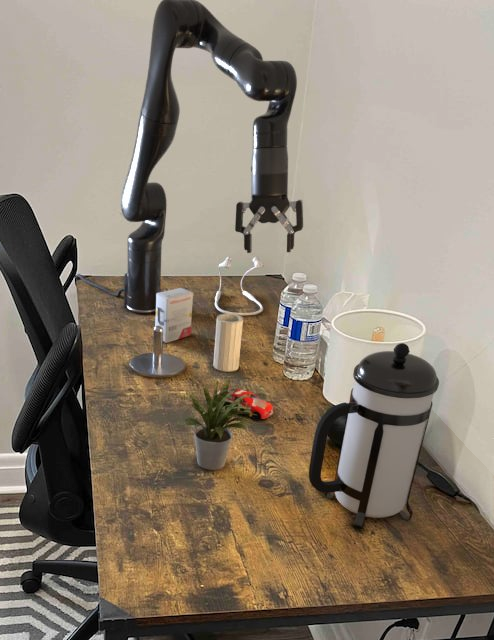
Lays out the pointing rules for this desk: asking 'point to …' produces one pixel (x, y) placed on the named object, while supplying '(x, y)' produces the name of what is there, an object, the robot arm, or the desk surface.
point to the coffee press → (378, 434)
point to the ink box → (174, 313)
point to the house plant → (215, 427)
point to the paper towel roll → (227, 342)
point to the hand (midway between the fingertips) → (268, 252)
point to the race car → (249, 404)
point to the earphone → (227, 265)
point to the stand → (157, 360)
